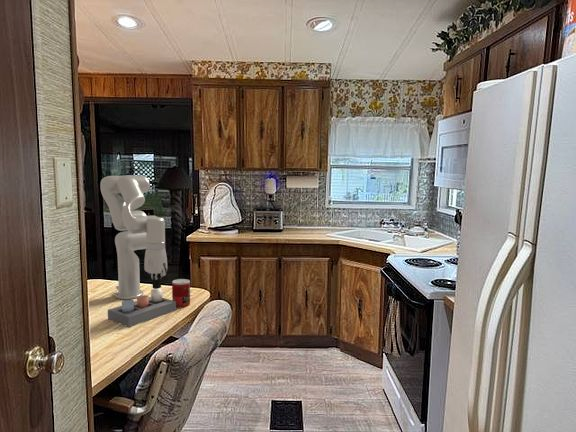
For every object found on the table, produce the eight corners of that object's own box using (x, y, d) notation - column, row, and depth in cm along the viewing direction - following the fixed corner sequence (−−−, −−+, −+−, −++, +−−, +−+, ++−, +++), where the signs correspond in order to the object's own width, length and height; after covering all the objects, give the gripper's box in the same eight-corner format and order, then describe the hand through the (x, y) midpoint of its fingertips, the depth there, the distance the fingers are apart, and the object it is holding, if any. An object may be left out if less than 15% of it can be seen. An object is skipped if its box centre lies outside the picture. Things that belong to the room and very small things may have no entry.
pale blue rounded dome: (119, 312, 154) (119, 301, 154) (129, 309, 158) (129, 299, 158) (126, 315, 152) (126, 304, 151) (136, 311, 155) (136, 301, 155)
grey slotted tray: (107, 319, 155) (107, 309, 155) (155, 304, 174) (155, 295, 174) (128, 327, 148) (128, 317, 147) (176, 310, 167) (175, 301, 166)
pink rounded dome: (134, 307, 160) (134, 297, 160) (144, 304, 164) (144, 294, 163) (141, 310, 157) (141, 299, 157) (151, 307, 161) (150, 296, 161)
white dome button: (149, 300, 166) (148, 290, 165) (157, 297, 170) (157, 287, 169) (155, 302, 163) (155, 292, 163) (164, 299, 167) (164, 289, 167)
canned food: (185, 308, 170) (185, 284, 169) (169, 306, 171) (168, 282, 170) (193, 302, 177) (193, 279, 176) (177, 301, 179) (177, 278, 178)
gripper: (137, 245, 165) (138, 287, 167) (160, 249, 157) (161, 293, 158) (152, 243, 171) (153, 283, 173) (174, 247, 163) (175, 288, 165)
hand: (156, 287), depth 166 cm, fingers closed
